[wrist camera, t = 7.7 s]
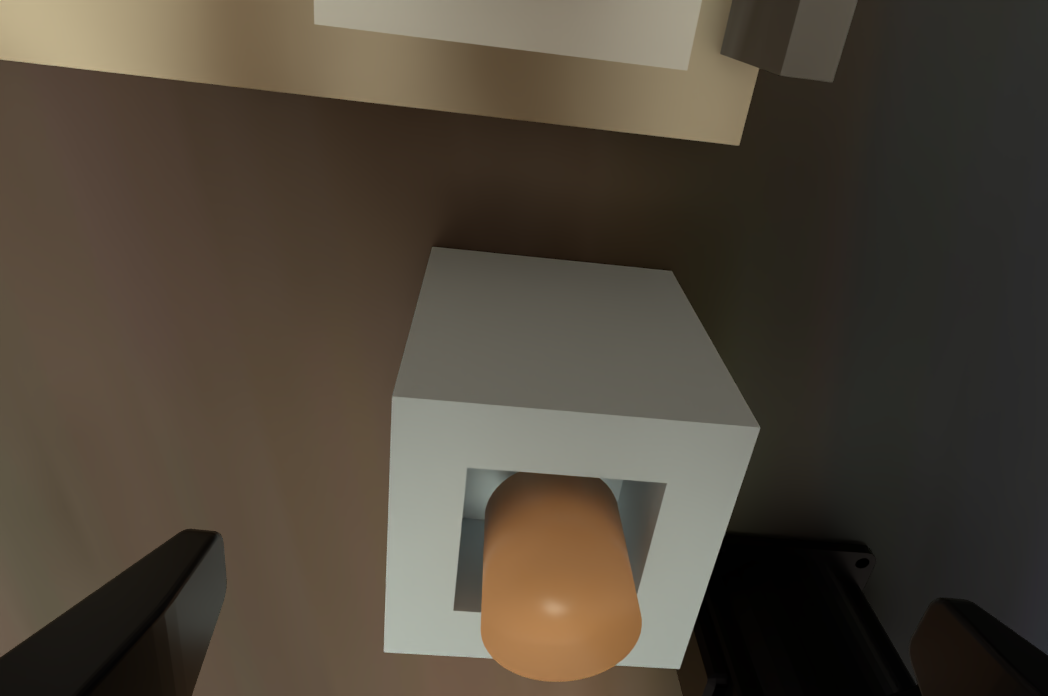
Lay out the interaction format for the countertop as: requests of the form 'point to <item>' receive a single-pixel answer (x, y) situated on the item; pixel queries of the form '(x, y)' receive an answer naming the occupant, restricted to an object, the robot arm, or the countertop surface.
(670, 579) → the box
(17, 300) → the countertop surface
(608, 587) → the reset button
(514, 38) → the carriage
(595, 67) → the rail base
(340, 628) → the countertop surface
